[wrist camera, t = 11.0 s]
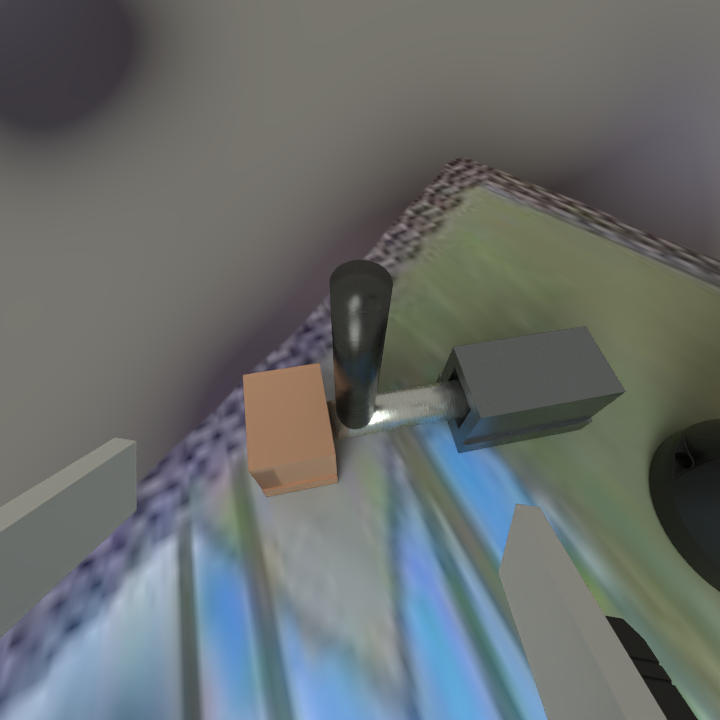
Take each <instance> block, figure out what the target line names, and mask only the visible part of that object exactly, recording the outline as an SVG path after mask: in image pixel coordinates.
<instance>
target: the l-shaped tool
mask: <svg viewBox="0 0 720 720" xmlns="http://www.w3.org/2000/svg"><path fill="white" fill-rule="evenodd" d="M392 287H393V282H392V278H391V276H390V274H389V273H388V271H387V270H386V269H385V268H383V267H382V266H381V265H379V264H377V263H374V262H371V261H366V260H354V261H350V262H347V263H344V264H342V265H340V266H339V267H338V268H337V269H336V270H335V271H334V272H333V274H332V275H331V278H330V300H331V320H332V340H333V360H334V379H335V399H336V400H333V401H327V402H326V403H327V408H328V414H329V420H330V425H331V431H332V437H333V441H335V440H340V439H346V438H351V437H357V436H362V435H367V434H373V433H378V432H384V431H389V430H395V429H400V428H406V427H411V426H417V425H422V424H427V423H433V422H438V421H444V420H449V419H455V418H460V417H466V416H468V414H469V413H470V411H471V409H470V406H469V404H468V401H467V398H466V396H465V393H464V390H463V388H462V385H461V382H460V380H459V379H457V380H451V381H445V382H439V383H433V384H428V385H422V386H416V387H410V388H404V389H398V390H392V391H386V392H380V393H377V388H378V381H379V374H380V368H381V361H382V354H383V348H384V341H385V334H386V328H387V321H388V314H389V307H390V301H391V294H392Z"/></svg>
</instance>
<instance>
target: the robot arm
mask: <svg viewBox="0 0 720 720" xmlns="http://www.w3.org/2000/svg"><path fill="white" fill-rule="evenodd" d="M650 489H651V495H652V499H653V503H654V506H655V510H656V512H657V515H658V517H659V520H660V522H661V524H662V526H663V528H664V530H665V532H666V533H667V535H668V537H669V538H670V540H671V542H672V543H673V545H674V546H675V547H676V549H677V550H678V551H679V553H680V554H681V555H682V557H683V558H684V559H685V560H686V561H687V562H688V564H689V565H690V566H691V567H692V568H693V569H694V570H695V571H696V572H697V573H698V574H699V575H700V576H701V577H702V578H703V579H705V580H706V581H707V582H708V583H709V584H710V585H712V586H713V587H714V588H716V589H717V590H718V591H720V419H714V420H707V421H703V422H700V423H697V424H694V425H691V426H689V427H687V428H685V429H683V430H681V431H679V432H677V433H675V434H674V435H672V436H670V437H669V438H668V439H666V440H665V441H664V442H663V443H662V444H661V445H660V447H659V448H658V450H657V451H656V453H655V455H654V458H653V461H652V464H651V470H650ZM135 511H136V441H132V440H126V439H120V438H114V439H112V440H110V441H109V442H107V443H106V444H104V445H102V446H101V447H99V448H97V449H96V450H94V451H92V452H91V453H89V454H87V455H86V456H84V457H82V458H81V459H79V460H77V461H76V462H74V463H73V464H71V465H69V466H68V467H66V468H64V469H63V470H61V471H59V472H58V473H56V474H55V475H53V476H51V477H50V478H48V479H46V480H44V481H43V482H41V483H40V484H38V485H37V486H35V487H33V488H31V489H30V490H28V491H26V492H25V493H23V494H21V495H20V496H18V497H16V498H15V499H13V500H12V501H10V502H8V503H7V504H5V505H3V506H2V507H0V637H2V636H3V635H4V634H5V633H6V632H7V631H8V630H9V629H10V628H11V627H12V626H13V625H14V624H15V623H16V622H18V621H19V620H20V619H21V618H22V617H23V616H24V615H25V614H26V613H27V612H28V611H29V610H30V609H31V608H33V607H34V606H35V605H36V604H37V603H38V602H39V601H40V600H41V599H42V598H43V597H44V596H45V595H46V594H47V593H49V592H50V591H51V590H52V589H53V588H54V587H55V586H56V585H57V584H58V583H59V582H60V581H61V580H62V579H63V578H65V577H66V576H67V575H68V574H69V573H70V572H71V571H72V570H73V569H74V568H75V567H76V566H77V565H78V564H79V563H81V562H82V561H83V560H84V559H85V558H86V557H87V556H88V555H89V554H90V553H91V552H92V551H93V550H94V549H96V548H97V547H98V546H99V545H100V544H101V543H102V542H103V541H104V540H105V539H106V538H107V537H108V536H109V535H110V534H112V533H113V532H114V531H115V530H116V529H117V528H118V527H119V526H120V525H121V524H122V523H123V522H124V521H125V520H126V519H128V518H129V517H130V516H131V515H132V514H133V513H134V512H135ZM499 576H500V579H501V582H502V585H503V588H504V591H505V594H506V597H507V600H508V603H509V606H510V609H511V612H512V615H513V618H514V621H515V624H516V627H517V630H518V633H519V636H520V639H521V642H522V645H523V647H524V650H525V653H526V656H527V659H528V662H529V665H530V668H531V671H532V674H533V677H534V680H535V683H536V686H537V689H538V692H539V695H540V698H541V701H542V704H543V707H544V710H545V713H546V716H547V719H548V720H698V719H697V718H696V716H695V715H694V713H693V712H692V710H691V709H690V707H689V706H688V704H687V703H686V701H685V700H684V698H683V697H682V695H681V694H680V693H679V691H678V690H677V688H676V687H675V685H672V683H671V679H670V678H669V676H668V675H667V673H666V672H665V670H664V669H663V667H662V666H660V665H659V661H658V660H657V658H656V657H655V655H654V654H653V652H652V651H651V649H650V648H649V646H648V645H647V643H646V642H645V640H644V639H643V638H642V637H641V636H640V635H639V634H638V633H637V632H636V631H635V630H634V629H633V628H632V627H631V626H630V625H629V624H628V623H627V622H626V621H625V620H623V619H621V618H615V617H610V616H605V615H604V614H603V612H602V610H601V609H600V607H599V605H598V604H597V602H596V600H595V599H594V597H593V595H592V594H591V592H590V590H589V589H588V587H587V585H586V584H585V582H584V580H583V579H582V577H581V575H580V574H579V572H578V570H577V569H576V567H575V565H574V564H573V562H572V560H571V559H570V557H569V555H568V554H567V552H566V550H565V549H564V547H563V545H562V544H561V542H560V540H559V539H558V537H557V535H556V534H555V532H554V530H553V529H552V527H551V525H550V524H549V522H548V520H547V519H546V517H545V515H544V514H543V512H542V510H541V509H540V508H539V507H533V506H527V505H521V504H516V507H515V511H514V515H513V519H512V523H511V526H510V530H509V534H508V538H507V542H506V546H505V550H504V554H503V558H502V562H501V566H500V570H499Z"/></svg>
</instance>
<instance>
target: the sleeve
mask: <svg viewBox="0 0 720 720" xmlns="http://www.w3.org/2000/svg"><path fill="white" fill-rule="evenodd" d="M457 379H459V380H460V382H461V385H462V388H463V390H464V393H465V396H466V398H467V401H468V404H469V406H470V409H471V411H470V413H469V414H468V416H466V417H460V418H455V419H449V420H447V421H448V424H449V427H450V429H451V432H452V435H453V438H454V441H455V444H456V447H457V450H458V453H462V452H467V451H472V450H478V449H483V448H488V447H493V446H498V445H503V444H508V443H513V442H518V441H524V440H529V439H534V438H539V437H544V436H549V435H554V434H559V433H565V432H570V431H575V430H580V429H582V428H583V427H585V426H586V425H587V424H589V423H590V422H591V421H592V420H591V417H592V416H594V415H595V414H596V413H598V412H599V411H600V410H602V409H603V408H604V407H606V406H607V405H608V404H610V403H611V402H612V401H614V400H615V399H616V398H618V397H619V396H620V395H622V394H623V393H624V392H626V391H625V390H624V388H623V386H622V385H621V383H620V382H619V380H618V378H617V377H616V375H615V373H614V372H613V370H612V368H611V367H610V365H609V364H608V362H607V360H606V359H605V357H604V355H603V354H602V352H601V350H600V349H599V347H598V346H597V344H596V342H595V341H594V339H593V337H592V336H591V334H590V333H589V331H588V329H587V328H586V326H583V327H577V328H571V329H564V330H558V331H552V332H545V333H539V334H533V335H526V336H520V337H514V338H507V339H501V340H495V341H488V342H482V343H476V344H470V345H463V346H457V347H453V349H452V352H451V354H450V356H449V359H448V361H447V363H446V366H445V368H444V370H443V373H442V374H441V375H439V377H438V380H437V382H436V383H439V382H445V381H451V380H457Z"/></svg>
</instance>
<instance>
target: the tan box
mask: <svg viewBox="0 0 720 720" xmlns="http://www.w3.org/2000/svg"><path fill="white" fill-rule="evenodd" d="M243 383H244V401H245V418H246V435H247V452H248V469H249V472H250V473H251V475H252V476H253V477H254V479H255V480H256V481H257V483H258V484H259V485H260V487H261V488H262V492H263V493H264V494H265V496H266V497H269V496H274V495H279V494H284V493H289V492H294V491H299V490H304V489H309V488H314V487H319V486H324V485H329V484H334V483H338V479H337V468H336V454H335V448H334V442H333V437H332V431H331V425H330V420H329V414H328V408H327V403H326V397H325V391H324V385H323V380H322V374H321V368H320V363H316V364H310V365H303V366H297V367H291V368H284V369H278V370H272V371H265V372H259V373H252V374H246V375H243Z"/></svg>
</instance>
